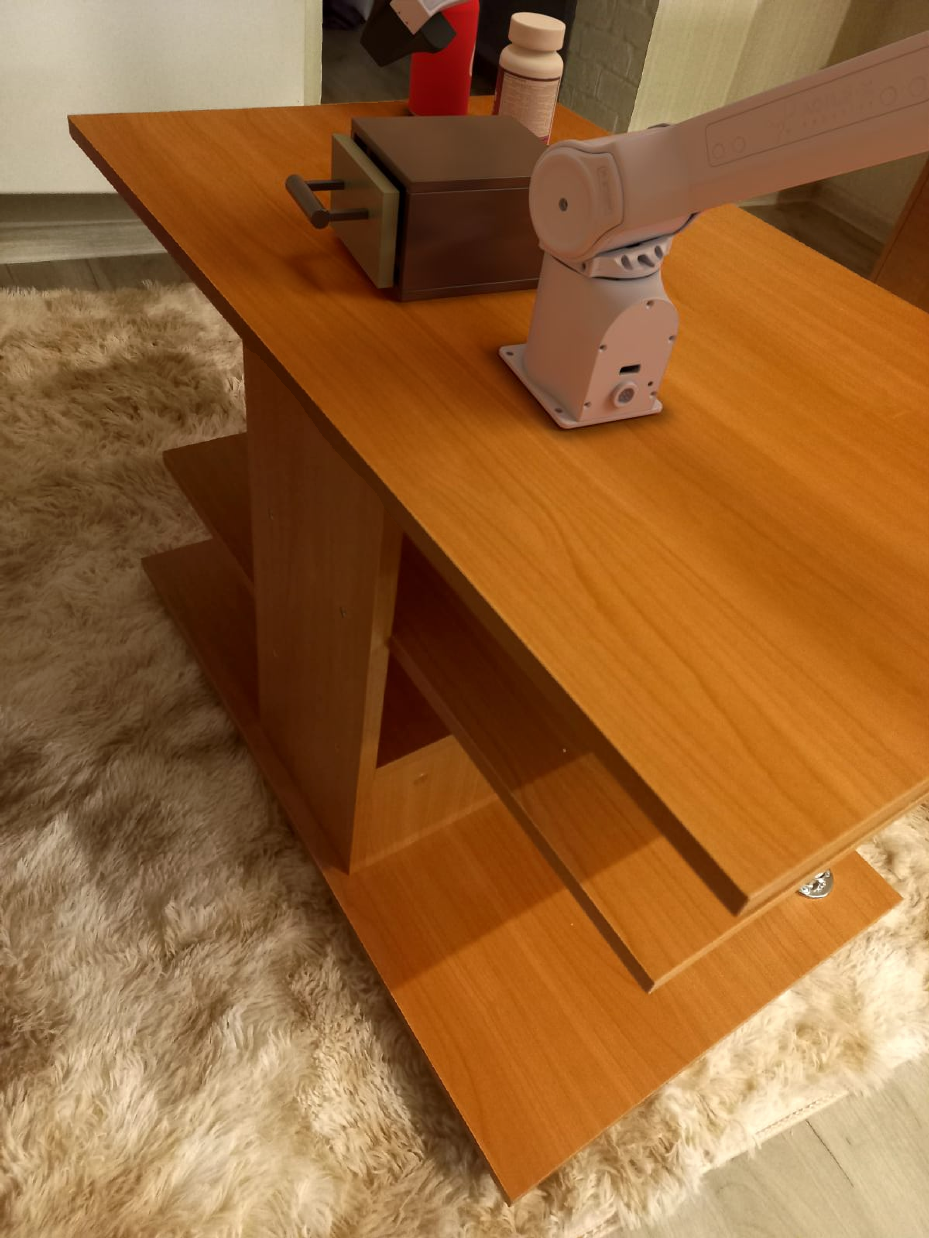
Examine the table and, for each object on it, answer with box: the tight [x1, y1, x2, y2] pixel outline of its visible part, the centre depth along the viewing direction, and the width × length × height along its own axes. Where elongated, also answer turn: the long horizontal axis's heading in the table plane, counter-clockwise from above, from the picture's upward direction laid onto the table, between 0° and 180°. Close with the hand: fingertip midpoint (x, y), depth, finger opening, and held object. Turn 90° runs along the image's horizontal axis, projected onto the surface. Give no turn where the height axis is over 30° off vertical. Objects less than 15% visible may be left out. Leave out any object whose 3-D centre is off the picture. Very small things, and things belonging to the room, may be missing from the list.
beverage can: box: [407, 0, 480, 117], centre depth 88 cm, size 6×6×12 cm
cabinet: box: [350, 114, 551, 303], centre depth 67 cm, size 14×12×9 cm
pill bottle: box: [491, 11, 566, 146], centre depth 85 cm, size 6×6×11 cm
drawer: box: [284, 133, 406, 289], centre depth 65 cm, size 17×10×7 cm, turn 115°
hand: (402, 18), depth 59 cm, fingers open, 7 cm apart
